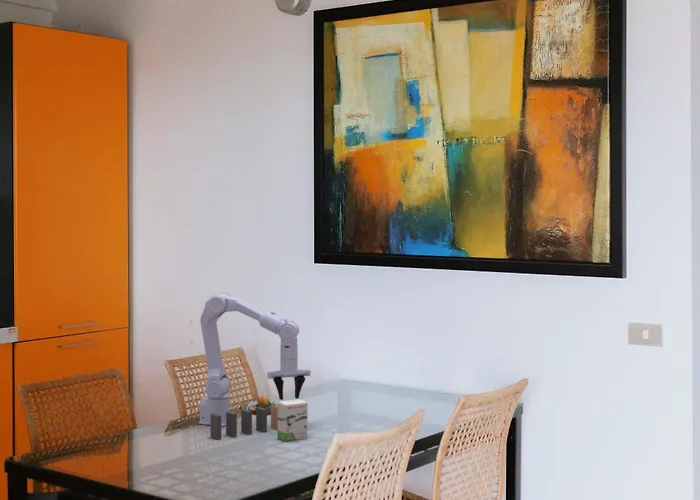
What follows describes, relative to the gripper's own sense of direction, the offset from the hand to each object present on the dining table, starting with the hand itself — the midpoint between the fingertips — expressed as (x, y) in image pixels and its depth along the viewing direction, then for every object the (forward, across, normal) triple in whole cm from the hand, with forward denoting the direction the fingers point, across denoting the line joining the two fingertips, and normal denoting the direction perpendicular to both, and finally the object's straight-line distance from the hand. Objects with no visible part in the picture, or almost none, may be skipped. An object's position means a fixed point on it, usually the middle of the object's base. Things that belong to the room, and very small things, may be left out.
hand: (289, 398), depth 314 cm
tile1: (+9, +5, +1) cm, 11 cm away
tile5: (+9, +26, +6) cm, 29 cm away
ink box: (+10, +3, +15) cm, 18 cm away
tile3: (+9, +16, +4) cm, 19 cm away
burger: (+10, +2, -24) cm, 26 cm away
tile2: (+9, +10, +2) cm, 14 cm away
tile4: (+9, +21, +5) cm, 23 cm away
